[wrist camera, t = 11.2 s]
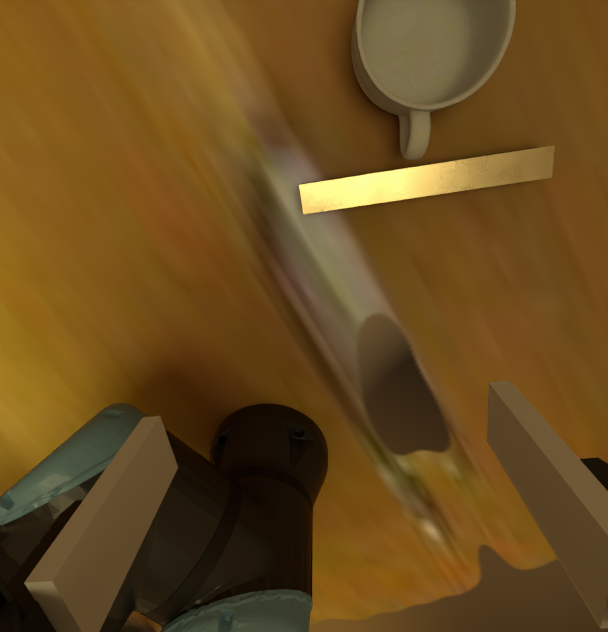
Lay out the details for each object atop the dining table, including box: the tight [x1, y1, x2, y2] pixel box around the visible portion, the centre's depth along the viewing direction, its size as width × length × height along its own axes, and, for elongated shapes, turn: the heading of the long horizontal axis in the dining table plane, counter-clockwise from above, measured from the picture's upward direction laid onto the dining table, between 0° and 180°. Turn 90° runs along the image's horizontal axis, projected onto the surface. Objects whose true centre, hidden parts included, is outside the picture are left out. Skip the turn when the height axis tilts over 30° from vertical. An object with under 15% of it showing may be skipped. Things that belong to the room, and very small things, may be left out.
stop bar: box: [299, 145, 555, 214], centre depth 35 cm, size 22×3×3 cm, turn 98°
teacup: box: [351, 0, 516, 160], centre depth 29 cm, size 14×11×8 cm
